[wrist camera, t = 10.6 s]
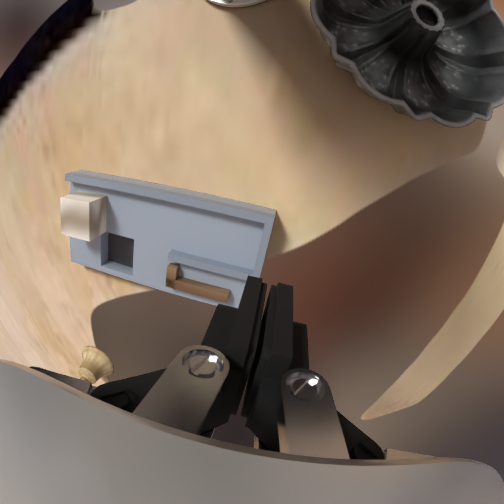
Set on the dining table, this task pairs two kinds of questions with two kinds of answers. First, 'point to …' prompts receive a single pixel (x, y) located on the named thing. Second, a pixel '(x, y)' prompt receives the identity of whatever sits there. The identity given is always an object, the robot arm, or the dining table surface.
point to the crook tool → (194, 285)
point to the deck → (173, 235)
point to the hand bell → (94, 365)
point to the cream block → (83, 215)
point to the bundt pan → (420, 54)
